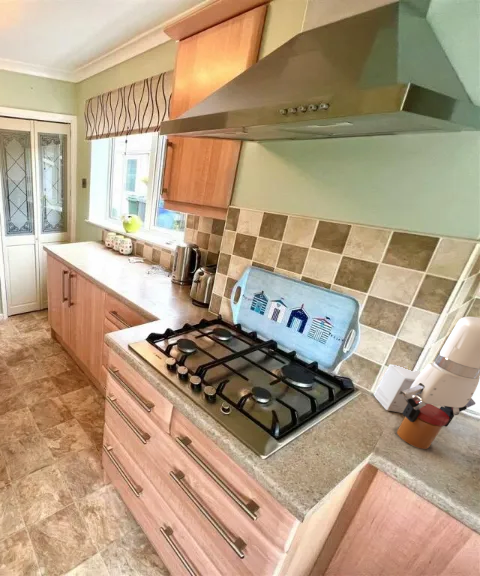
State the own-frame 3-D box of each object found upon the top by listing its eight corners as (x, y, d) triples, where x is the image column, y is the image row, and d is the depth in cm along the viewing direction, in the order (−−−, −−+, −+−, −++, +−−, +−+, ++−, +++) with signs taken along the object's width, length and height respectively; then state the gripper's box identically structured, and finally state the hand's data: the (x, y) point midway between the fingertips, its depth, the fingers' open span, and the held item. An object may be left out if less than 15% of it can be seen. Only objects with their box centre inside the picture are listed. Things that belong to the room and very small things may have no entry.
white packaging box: (386, 411, 94) (404, 377, 89) (372, 394, 100) (388, 363, 95) (414, 416, 92) (434, 383, 87) (398, 399, 99) (416, 367, 94)
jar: (426, 437, 85) (443, 411, 81) (431, 453, 80) (449, 426, 76) (395, 425, 88) (410, 399, 85) (398, 439, 84) (413, 413, 80)
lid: (402, 402, 85) (405, 397, 84) (434, 409, 83) (437, 404, 82) (418, 421, 79) (421, 416, 78) (453, 429, 77) (457, 424, 76)
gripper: (482, 361, 77) (447, 414, 84) (406, 352, 79) (378, 405, 86) (515, 380, 70) (474, 436, 77) (431, 370, 72) (399, 426, 79)
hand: (424, 419), depth 82 cm, fingers closed on lid, 7 cm apart
